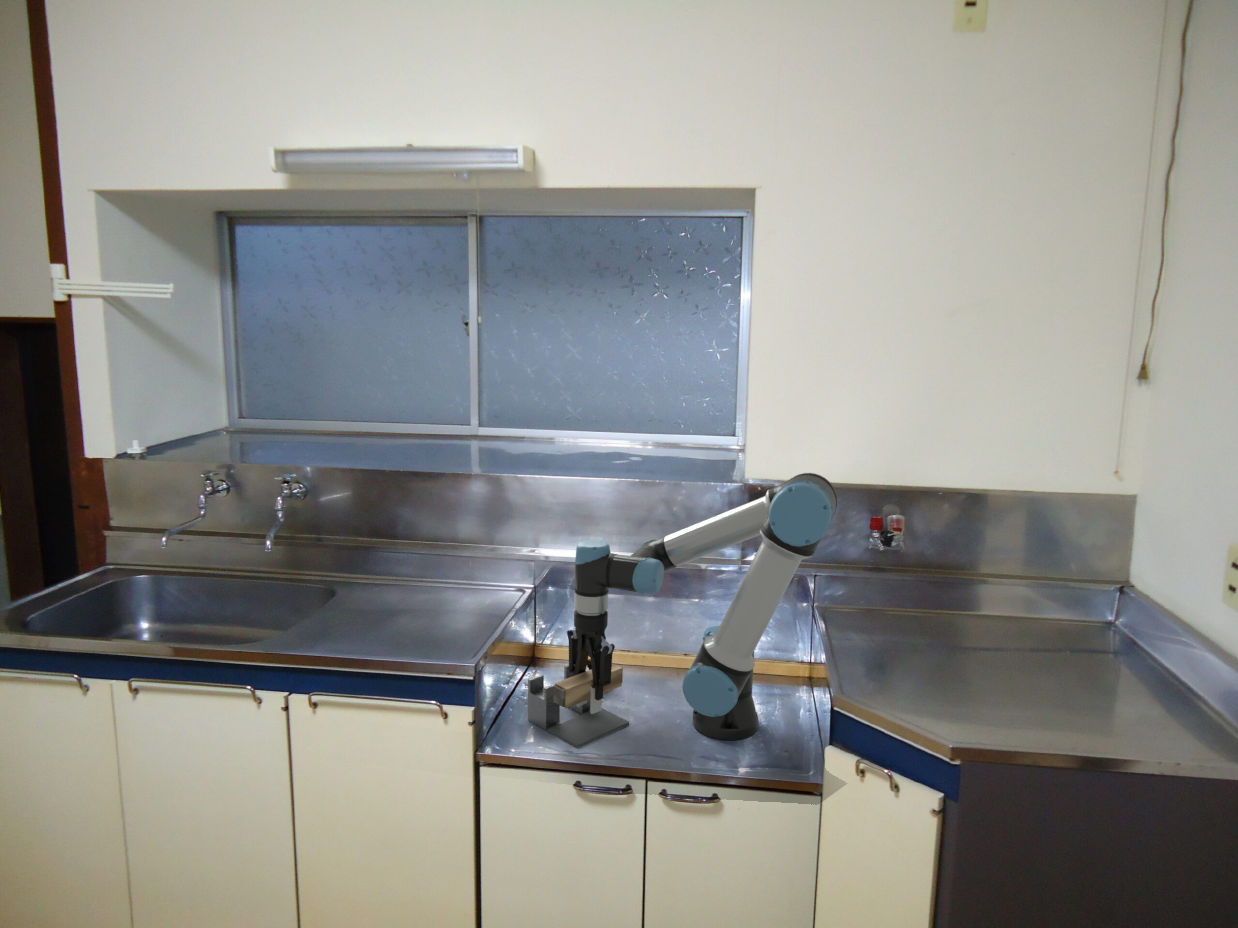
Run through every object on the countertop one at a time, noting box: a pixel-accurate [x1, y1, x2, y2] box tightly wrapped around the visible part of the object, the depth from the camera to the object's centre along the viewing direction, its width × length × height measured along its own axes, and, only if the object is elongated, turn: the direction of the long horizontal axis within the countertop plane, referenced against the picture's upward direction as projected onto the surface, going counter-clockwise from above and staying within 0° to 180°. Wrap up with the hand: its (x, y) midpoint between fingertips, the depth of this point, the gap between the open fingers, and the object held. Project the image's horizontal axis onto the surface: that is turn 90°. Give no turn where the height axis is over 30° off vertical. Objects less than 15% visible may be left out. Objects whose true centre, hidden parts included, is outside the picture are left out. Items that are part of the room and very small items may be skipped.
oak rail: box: [554, 662, 624, 709], centre depth 184 cm, size 4×18×4 cm, turn 135°
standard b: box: [527, 674, 561, 731], centre depth 187 cm, size 7×4×10 cm, turn 45°
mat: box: [547, 707, 630, 749], centre depth 185 cm, size 10×16×1 cm, turn 135°
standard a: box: [563, 664, 590, 715], centre depth 194 cm, size 7×4×10 cm, turn 45°
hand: (588, 707), depth 185 cm, fingers closed on oak rail, 4 cm apart
